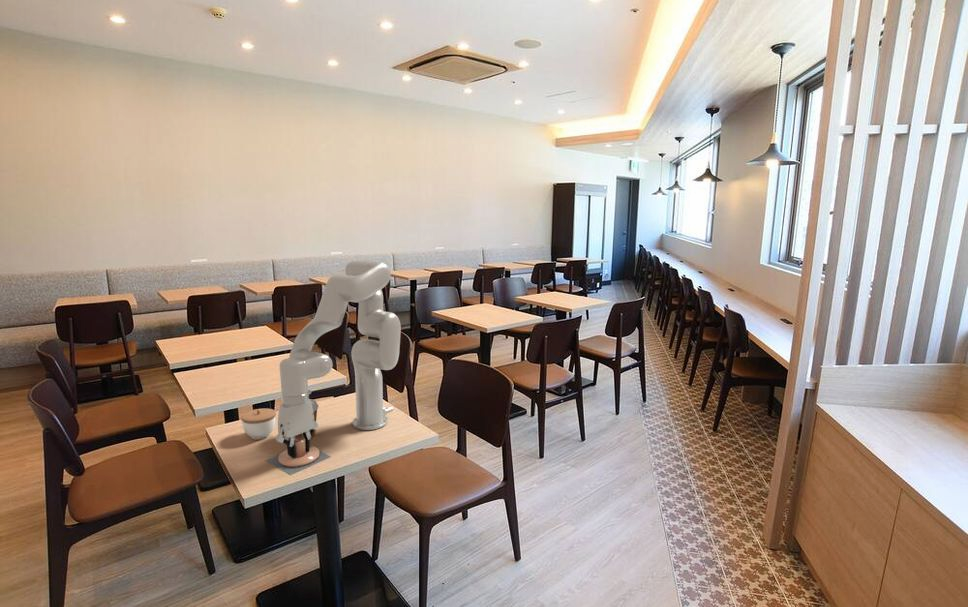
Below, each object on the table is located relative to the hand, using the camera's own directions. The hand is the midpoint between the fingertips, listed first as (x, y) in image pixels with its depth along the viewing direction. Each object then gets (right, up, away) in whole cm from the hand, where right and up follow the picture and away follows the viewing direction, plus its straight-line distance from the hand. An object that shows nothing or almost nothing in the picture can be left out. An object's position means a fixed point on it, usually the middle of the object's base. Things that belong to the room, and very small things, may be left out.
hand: (299, 453), depth 152 cm
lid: (0, -1, 0) cm, 1 cm away
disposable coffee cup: (-4, 0, +16) cm, 17 cm away
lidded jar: (-20, +1, +17) cm, 26 cm away
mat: (0, -2, 0) cm, 2 cm away
